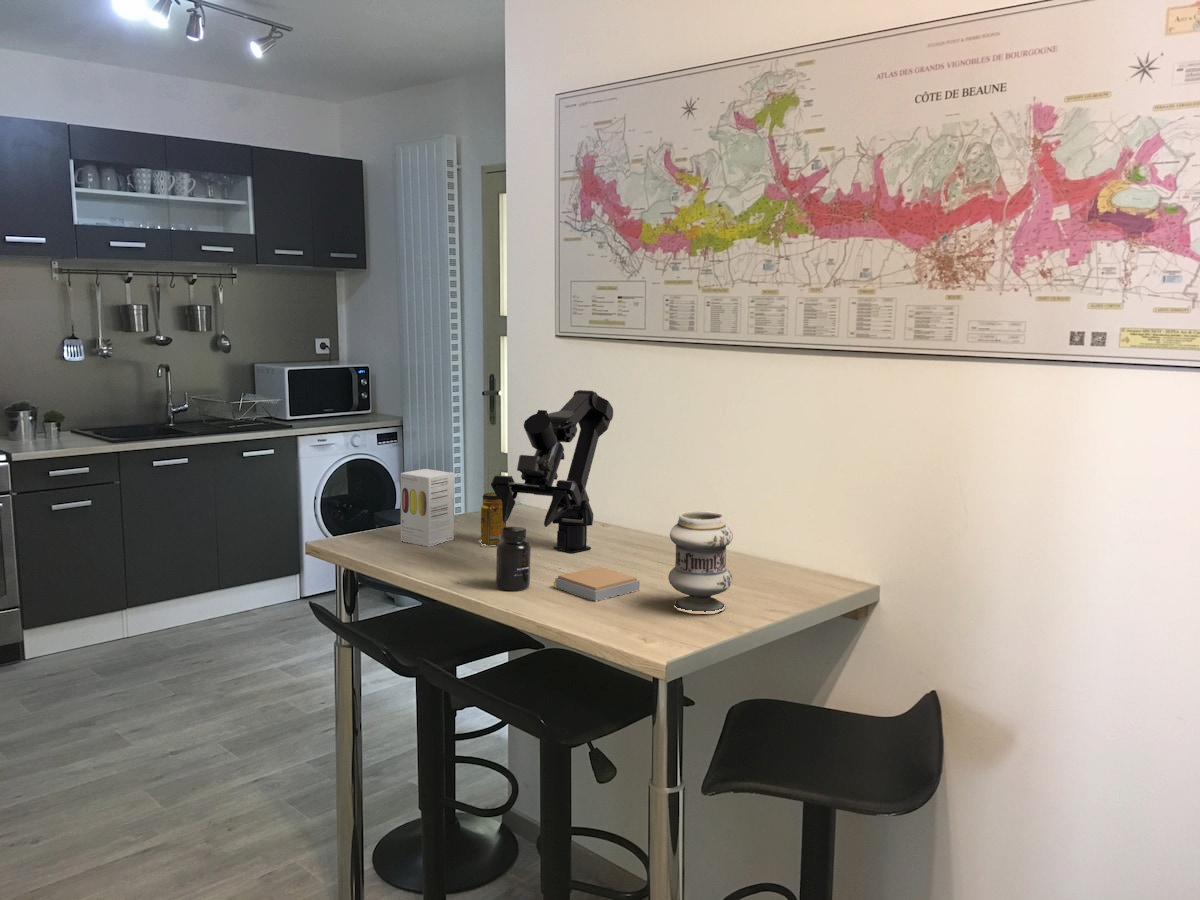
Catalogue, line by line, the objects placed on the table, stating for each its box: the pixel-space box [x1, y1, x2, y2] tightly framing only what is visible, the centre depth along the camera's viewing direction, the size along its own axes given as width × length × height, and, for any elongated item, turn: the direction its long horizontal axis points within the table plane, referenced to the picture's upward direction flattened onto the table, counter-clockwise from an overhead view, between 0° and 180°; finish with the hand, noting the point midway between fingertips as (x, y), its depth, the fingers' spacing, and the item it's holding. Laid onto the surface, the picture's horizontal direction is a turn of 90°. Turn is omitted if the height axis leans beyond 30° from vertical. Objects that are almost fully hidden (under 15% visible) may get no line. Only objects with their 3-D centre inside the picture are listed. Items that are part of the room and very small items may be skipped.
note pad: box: [553, 566, 641, 602], centre depth 188 cm, size 12×12×3 cm
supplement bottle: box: [495, 526, 532, 592], centre depth 188 cm, size 7×7×12 cm
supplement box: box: [400, 468, 455, 548], centre depth 225 cm, size 10×9×17 cm
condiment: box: [480, 492, 507, 547], centre depth 225 cm, size 7×8×12 cm
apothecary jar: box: [667, 510, 734, 612], centre depth 177 cm, size 12×12×18 cm
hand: (524, 523), depth 192 cm, fingers open, 9 cm apart
